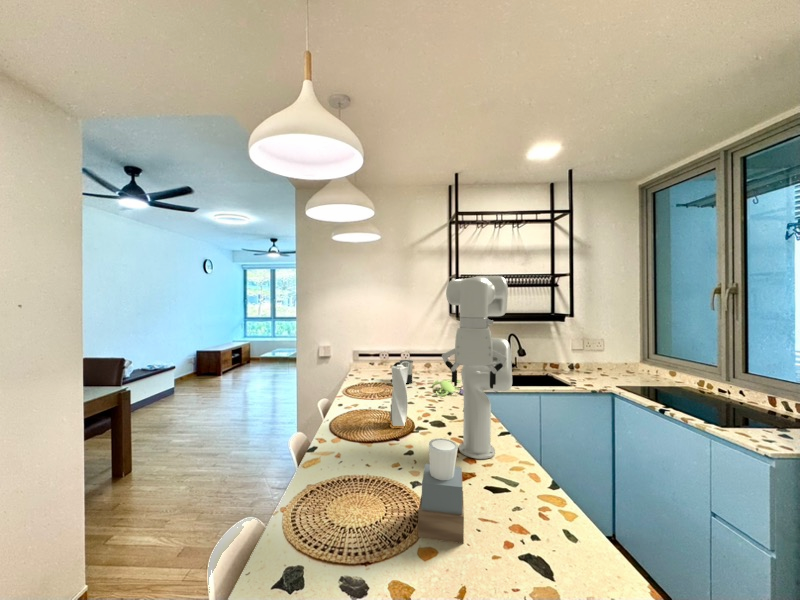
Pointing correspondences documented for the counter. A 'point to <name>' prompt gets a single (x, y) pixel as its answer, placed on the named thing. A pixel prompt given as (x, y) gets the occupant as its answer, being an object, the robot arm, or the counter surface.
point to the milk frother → (409, 377)
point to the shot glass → (442, 458)
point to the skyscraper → (399, 395)
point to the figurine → (447, 387)
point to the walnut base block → (441, 525)
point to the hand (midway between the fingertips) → (473, 386)
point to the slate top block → (442, 492)
